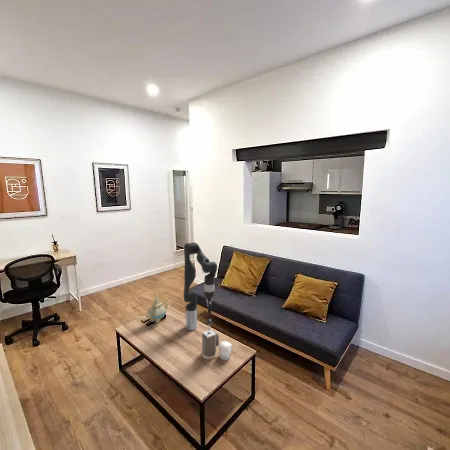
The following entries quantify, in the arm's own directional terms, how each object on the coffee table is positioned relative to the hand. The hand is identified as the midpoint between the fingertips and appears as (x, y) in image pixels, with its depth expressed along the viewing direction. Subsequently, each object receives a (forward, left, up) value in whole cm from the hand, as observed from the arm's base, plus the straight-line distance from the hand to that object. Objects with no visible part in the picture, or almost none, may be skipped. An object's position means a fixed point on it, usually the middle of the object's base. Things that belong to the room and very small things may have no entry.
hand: (209, 310), depth 180 cm
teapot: (-56, -20, -31) cm, 67 cm away
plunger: (+4, -2, -22) cm, 23 cm away
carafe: (+4, -2, -31) cm, 32 cm away
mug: (+12, +6, -31) cm, 34 cm away
